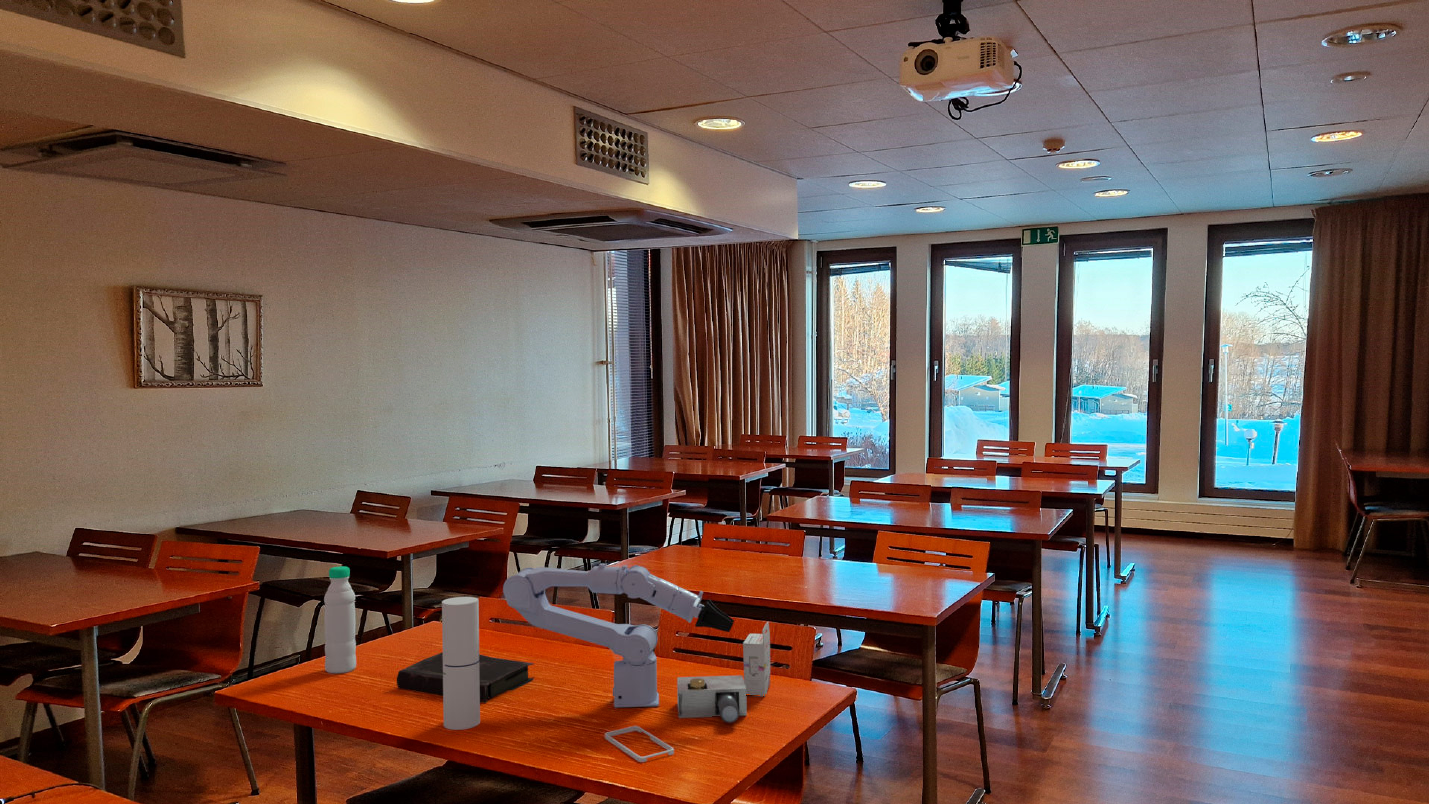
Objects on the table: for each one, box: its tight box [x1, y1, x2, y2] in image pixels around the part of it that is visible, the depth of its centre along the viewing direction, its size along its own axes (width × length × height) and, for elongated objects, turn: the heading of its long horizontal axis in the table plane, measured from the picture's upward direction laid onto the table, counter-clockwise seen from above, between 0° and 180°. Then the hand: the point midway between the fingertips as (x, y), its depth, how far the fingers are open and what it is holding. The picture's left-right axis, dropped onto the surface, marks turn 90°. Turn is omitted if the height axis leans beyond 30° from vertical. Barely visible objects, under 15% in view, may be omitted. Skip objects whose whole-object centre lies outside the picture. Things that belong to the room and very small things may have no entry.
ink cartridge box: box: [742, 621, 771, 697], centre depth 209 cm, size 9×5×15 cm, turn 168°
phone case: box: [604, 725, 675, 763], centre depth 177 cm, size 7×1×15 cm
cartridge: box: [716, 692, 740, 724], centre depth 192 cm, size 4×12×4 cm, turn 4°
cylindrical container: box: [441, 596, 481, 731], centre depth 190 cm, size 7×7×25 cm
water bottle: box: [323, 565, 357, 675], centre depth 227 cm, size 7×7×25 cm
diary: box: [396, 651, 535, 704], centre depth 216 cm, size 19×25×5 cm
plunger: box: [690, 678, 705, 690], centre depth 195 cm, size 3×3×2 cm
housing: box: [676, 674, 748, 719], centre depth 197 cm, size 14×9×6 cm, turn 94°
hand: (731, 626), depth 200 cm, fingers open, 7 cm apart
